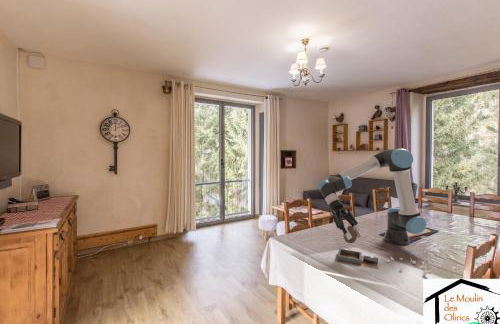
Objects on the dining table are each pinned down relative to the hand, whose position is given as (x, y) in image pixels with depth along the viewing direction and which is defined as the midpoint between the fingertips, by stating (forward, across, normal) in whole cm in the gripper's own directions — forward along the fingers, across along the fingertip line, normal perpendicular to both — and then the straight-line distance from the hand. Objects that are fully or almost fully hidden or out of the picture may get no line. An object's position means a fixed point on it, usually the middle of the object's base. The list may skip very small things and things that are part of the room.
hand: (355, 237), depth 132 cm
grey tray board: (+9, -3, -9) cm, 13 cm away
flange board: (+10, -3, -10) cm, 14 cm away
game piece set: (+21, -21, +1) cm, 30 cm away
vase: (0, 0, -5) cm, 5 cm away
